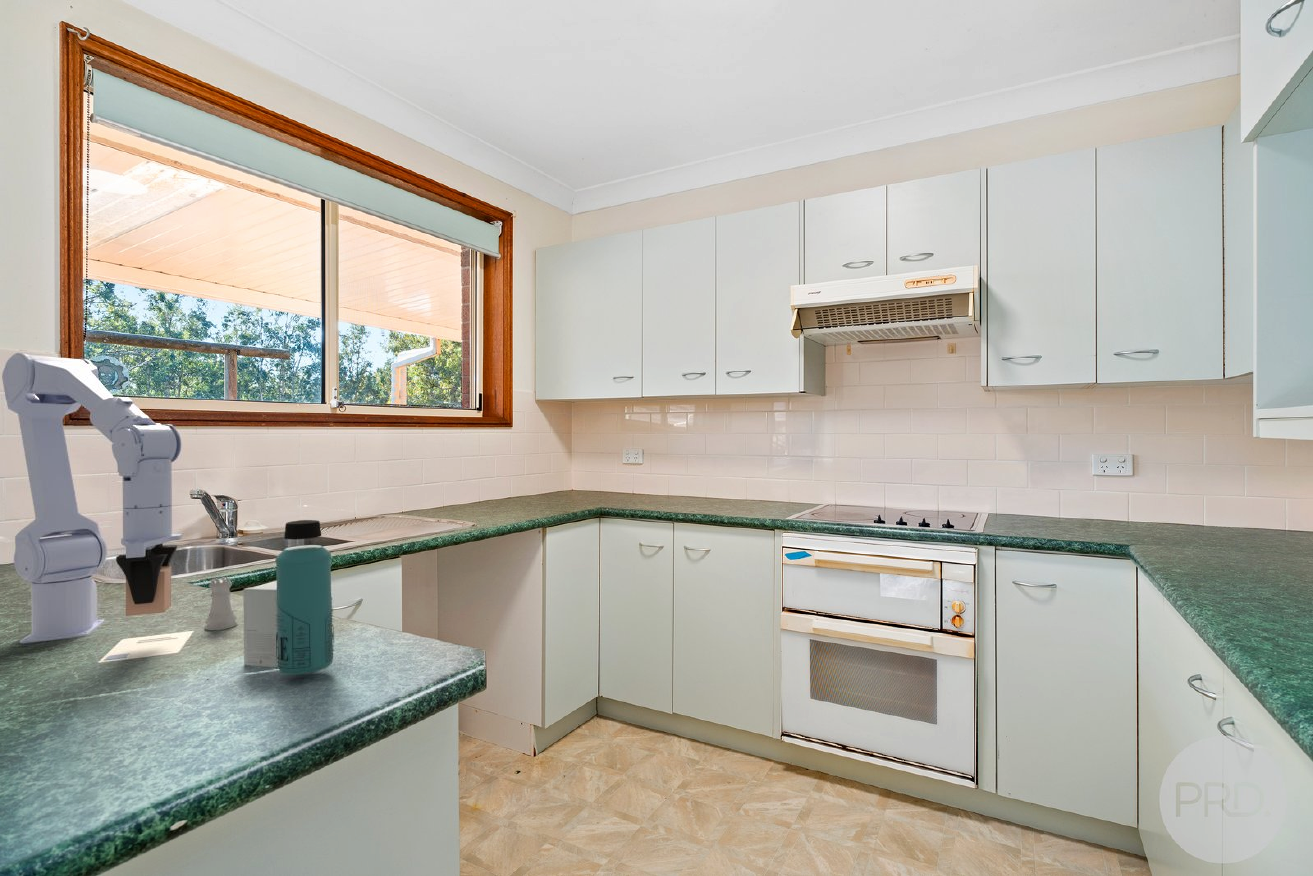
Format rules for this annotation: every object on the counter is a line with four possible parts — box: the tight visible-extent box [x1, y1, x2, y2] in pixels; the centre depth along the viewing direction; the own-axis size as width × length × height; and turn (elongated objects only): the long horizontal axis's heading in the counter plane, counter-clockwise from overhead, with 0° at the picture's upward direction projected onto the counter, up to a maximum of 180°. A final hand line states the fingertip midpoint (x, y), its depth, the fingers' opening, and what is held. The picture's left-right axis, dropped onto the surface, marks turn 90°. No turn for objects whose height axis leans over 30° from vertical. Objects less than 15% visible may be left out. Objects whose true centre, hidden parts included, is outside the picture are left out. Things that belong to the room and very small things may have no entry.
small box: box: [242, 580, 278, 668], centre depth 91 cm, size 8×6×10 cm
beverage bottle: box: [274, 519, 335, 675], centre depth 84 cm, size 6×7×20 cm
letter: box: [97, 630, 195, 664], centre depth 97 cm, size 12×9×1 cm
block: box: [125, 565, 172, 617], centre depth 97 cm, size 4×4×6 cm
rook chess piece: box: [204, 576, 238, 631], centre depth 107 cm, size 4×4×8 cm
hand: (148, 599), depth 97 cm, fingers closed on block, 4 cm apart
